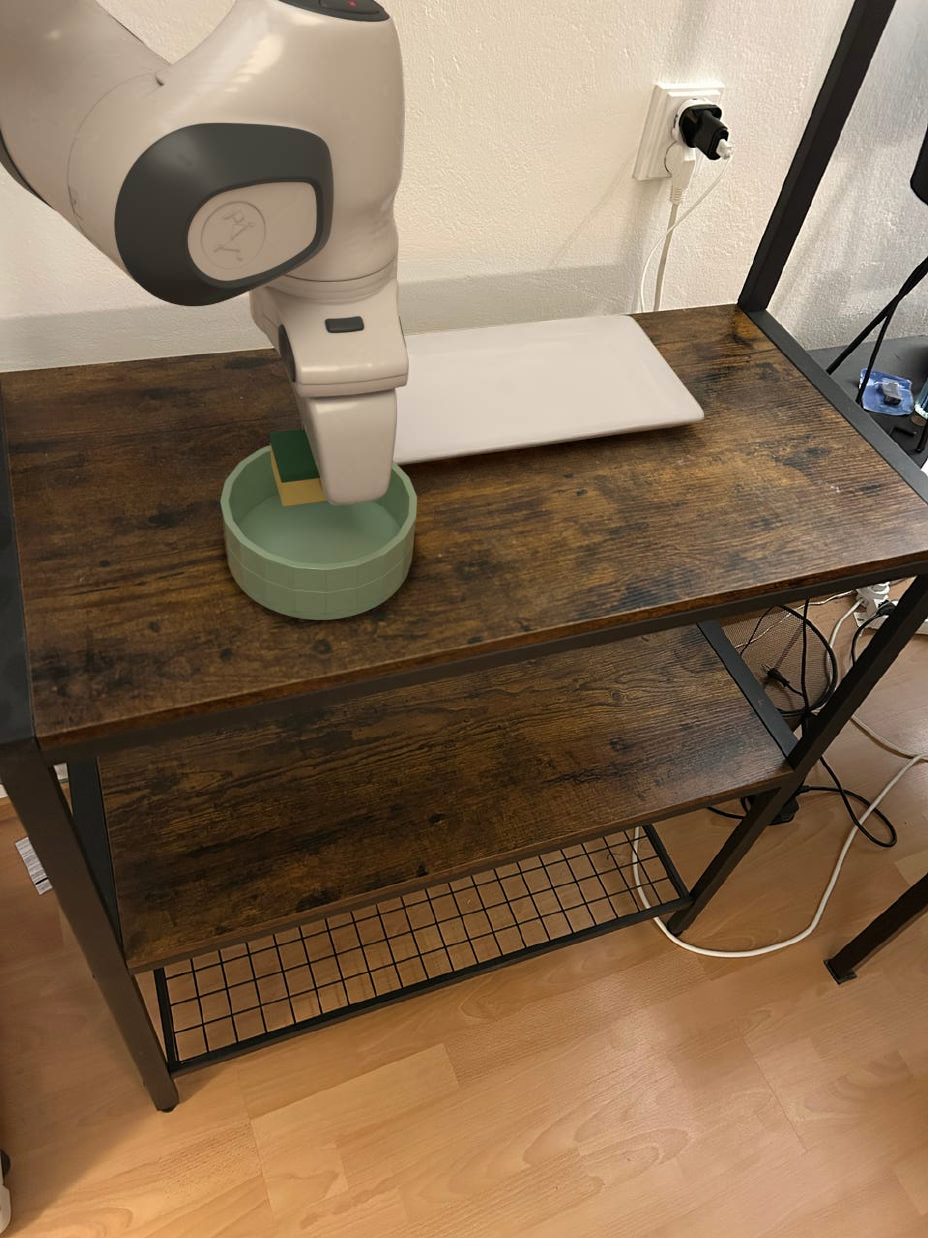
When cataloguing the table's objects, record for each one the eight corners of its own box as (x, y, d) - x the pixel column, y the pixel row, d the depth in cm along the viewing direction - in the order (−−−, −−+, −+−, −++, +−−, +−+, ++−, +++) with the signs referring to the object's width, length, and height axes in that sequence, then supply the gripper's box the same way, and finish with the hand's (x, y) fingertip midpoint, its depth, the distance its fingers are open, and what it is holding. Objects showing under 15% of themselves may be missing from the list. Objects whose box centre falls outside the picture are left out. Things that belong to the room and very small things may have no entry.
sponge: (282, 507, 68) (281, 474, 65) (271, 465, 70) (269, 432, 68) (380, 494, 70) (381, 462, 67) (365, 453, 72) (366, 421, 70)
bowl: (243, 634, 69) (238, 582, 65) (214, 501, 78) (208, 447, 74) (433, 603, 73) (440, 552, 69) (385, 480, 82) (389, 427, 78)
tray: (700, 444, 90) (712, 414, 87) (372, 493, 80) (373, 461, 78) (622, 341, 100) (631, 310, 97) (322, 373, 90) (322, 341, 88)
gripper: (242, 204, 64) (255, 379, 74) (304, 393, 51) (309, 571, 62) (336, 199, 65) (336, 371, 76) (418, 381, 53) (404, 556, 64)
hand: (324, 463), depth 69 cm, fingers closed on sponge, 4 cm apart
